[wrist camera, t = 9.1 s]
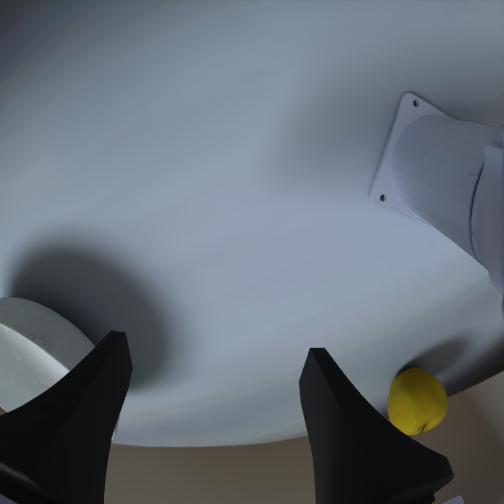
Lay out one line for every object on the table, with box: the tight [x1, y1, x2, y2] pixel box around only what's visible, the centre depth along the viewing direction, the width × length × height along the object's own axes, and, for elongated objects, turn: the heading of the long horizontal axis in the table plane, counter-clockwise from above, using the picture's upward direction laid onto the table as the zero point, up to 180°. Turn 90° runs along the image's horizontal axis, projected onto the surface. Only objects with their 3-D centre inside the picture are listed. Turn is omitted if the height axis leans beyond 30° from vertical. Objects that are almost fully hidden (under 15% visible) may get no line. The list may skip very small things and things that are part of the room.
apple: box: [388, 367, 448, 435], centre depth 25 cm, size 6×6×8 cm
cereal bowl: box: [0, 297, 120, 440], centre depth 22 cm, size 17×17×7 cm
